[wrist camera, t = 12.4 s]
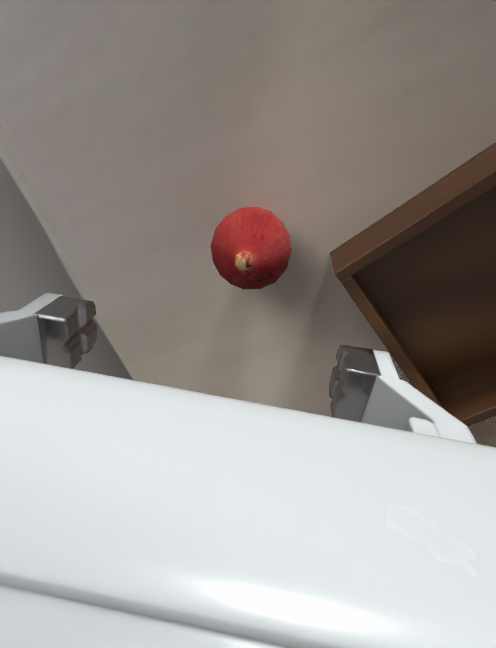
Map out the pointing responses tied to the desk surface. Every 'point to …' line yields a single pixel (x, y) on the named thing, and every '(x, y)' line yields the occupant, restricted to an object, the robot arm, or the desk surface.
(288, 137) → the desk surface
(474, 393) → the wooden box
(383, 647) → the robot arm
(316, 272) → the desk surface
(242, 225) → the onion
